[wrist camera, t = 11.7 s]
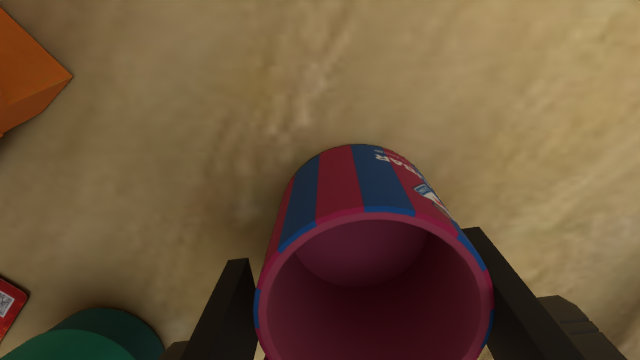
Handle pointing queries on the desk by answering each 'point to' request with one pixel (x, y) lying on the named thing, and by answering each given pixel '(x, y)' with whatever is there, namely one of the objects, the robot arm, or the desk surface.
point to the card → (9, 305)
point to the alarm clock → (25, 75)
